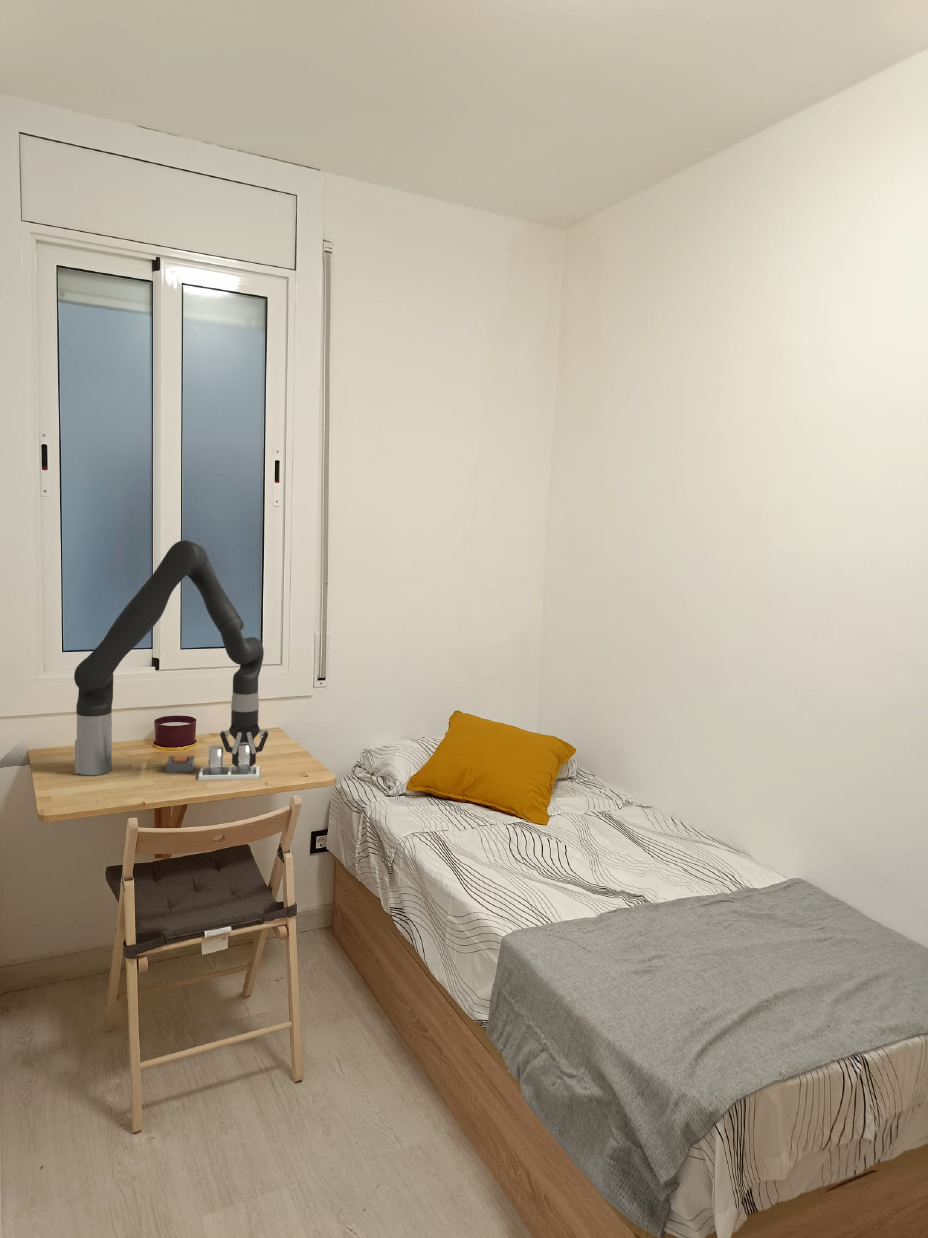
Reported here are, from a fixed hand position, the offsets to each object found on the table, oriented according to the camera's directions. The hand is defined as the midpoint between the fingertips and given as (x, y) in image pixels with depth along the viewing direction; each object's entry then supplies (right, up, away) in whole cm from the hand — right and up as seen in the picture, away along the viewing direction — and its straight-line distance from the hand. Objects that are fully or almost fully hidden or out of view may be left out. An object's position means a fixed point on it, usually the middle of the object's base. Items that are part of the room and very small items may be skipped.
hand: (243, 765), depth 241 cm
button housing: (-19, -3, +2) cm, 19 cm away
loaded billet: (-8, -2, -1) cm, 8 cm away
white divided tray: (-4, -4, 0) cm, 5 cm away
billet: (0, -2, 0) cm, 2 cm away
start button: (-19, 0, +1) cm, 19 cm away
